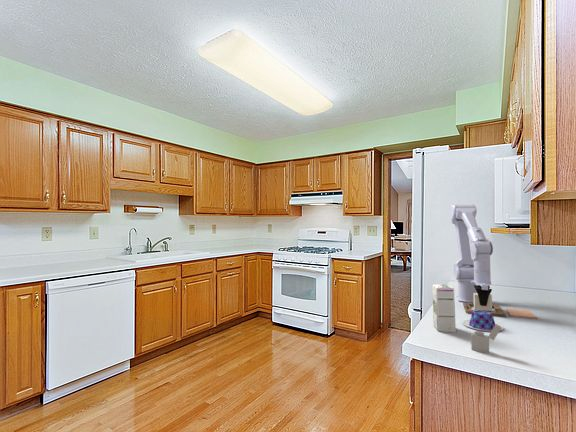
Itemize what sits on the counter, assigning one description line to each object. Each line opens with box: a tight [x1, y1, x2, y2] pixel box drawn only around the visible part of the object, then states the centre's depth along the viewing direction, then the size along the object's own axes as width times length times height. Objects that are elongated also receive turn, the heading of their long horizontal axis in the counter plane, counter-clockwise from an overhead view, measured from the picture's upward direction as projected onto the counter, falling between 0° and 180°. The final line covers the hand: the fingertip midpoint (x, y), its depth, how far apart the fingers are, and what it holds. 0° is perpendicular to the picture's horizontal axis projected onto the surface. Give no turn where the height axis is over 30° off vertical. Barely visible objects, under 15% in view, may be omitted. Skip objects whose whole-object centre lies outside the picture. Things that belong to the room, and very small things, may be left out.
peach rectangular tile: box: [504, 307, 538, 320], centre depth 122 cm, size 10×8×1 cm
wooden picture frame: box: [462, 302, 507, 318], centre depth 127 cm, size 14×13×2 cm
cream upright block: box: [473, 292, 493, 312], centre depth 127 cm, size 3×6×6 cm, turn 65°
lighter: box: [470, 323, 502, 354], centre depth 88 cm, size 7×2×8 cm, turn 55°
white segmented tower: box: [432, 283, 457, 333], centre depth 106 cm, size 6×6×14 cm
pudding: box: [462, 309, 504, 332], centre depth 109 cm, size 12×12×5 cm
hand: (482, 304), depth 127 cm, fingers closed on cream upright block, 3 cm apart
